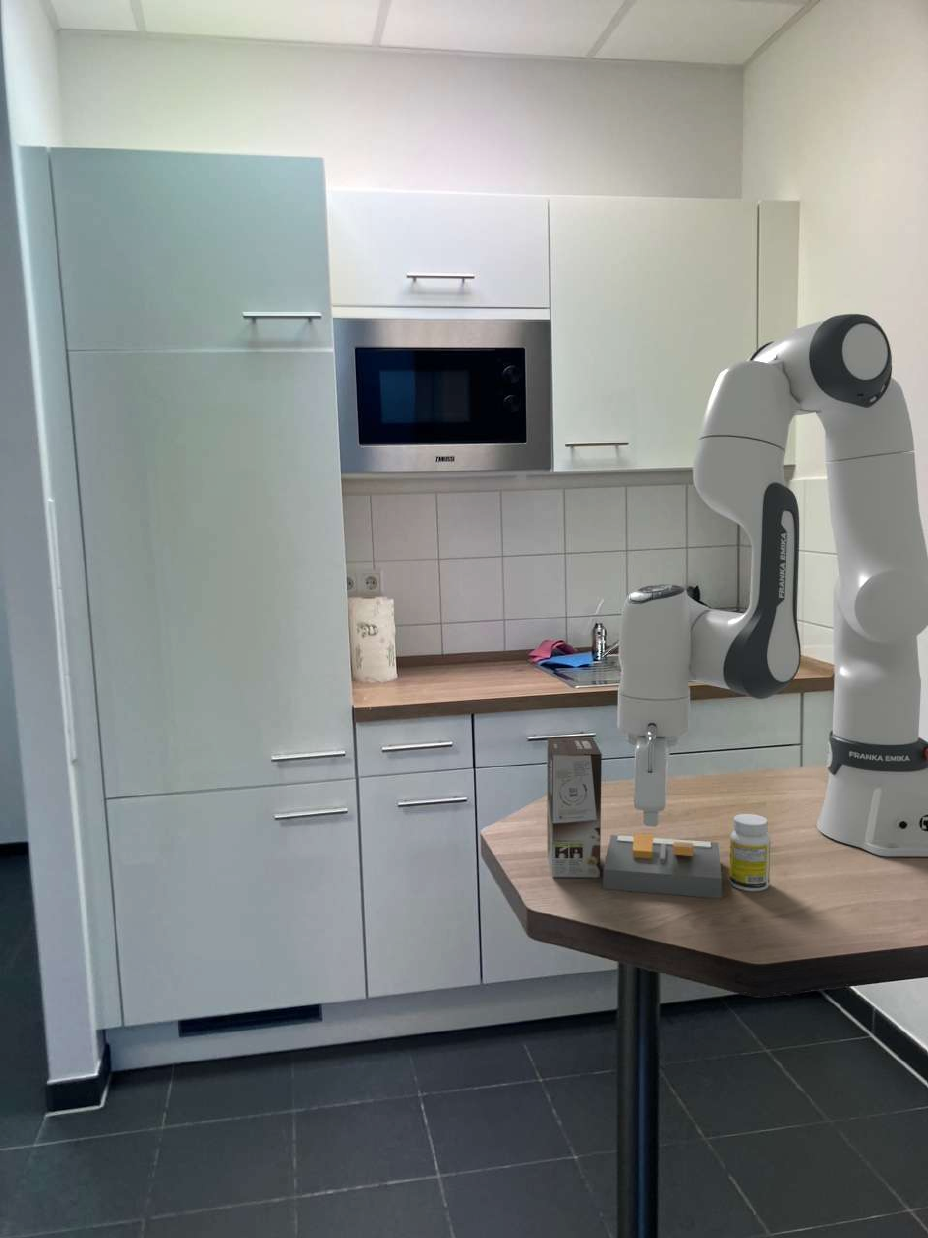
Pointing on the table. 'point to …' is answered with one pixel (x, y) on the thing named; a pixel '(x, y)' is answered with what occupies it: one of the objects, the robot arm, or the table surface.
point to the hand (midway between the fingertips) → (651, 822)
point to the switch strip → (664, 868)
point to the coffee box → (574, 806)
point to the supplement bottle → (750, 853)
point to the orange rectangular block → (683, 848)
